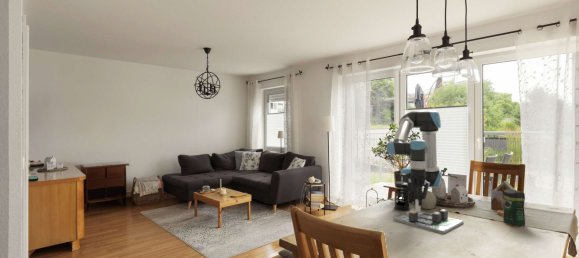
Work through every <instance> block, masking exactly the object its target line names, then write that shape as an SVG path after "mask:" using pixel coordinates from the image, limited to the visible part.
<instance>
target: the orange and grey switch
mask: <svg viewBox="0 0 579 258" xmlns="http://www.w3.org/2000/svg"><path fill="white" fill-rule="evenodd" d="M411 211H412V212H410V211H409V212H410V213H409V220H410V221H416V220H418V212H415V211H413V210H411Z"/></svg>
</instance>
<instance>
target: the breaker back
mask: <svg viewBox="0 0 579 258" xmlns="http://www.w3.org/2000/svg"><path fill="white" fill-rule="evenodd" d="M438 212H439V213H441V219H446V218H448V217H449V211H448V210H447V209H443V208H442V209H440V210H438Z"/></svg>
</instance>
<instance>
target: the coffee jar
mask: <svg viewBox="0 0 579 258" xmlns="http://www.w3.org/2000/svg"><path fill="white" fill-rule="evenodd" d="M525 195H526V193H525V192H523V191H520V190H516V189H513V188H512V189H511V188H509V189H508V188H506V189H505V190H503V201H504V202H503V218H502V220H503V222H504V223H505V224H508V225H511V226H515V227H523V226H525V225H526V217H525V201H526V196H525Z"/></svg>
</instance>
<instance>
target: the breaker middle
mask: <svg viewBox="0 0 579 258" xmlns="http://www.w3.org/2000/svg"><path fill="white" fill-rule="evenodd" d="M431 214H432V221H434V222H440V221H441V213H439V211H435V212H432V213H431Z"/></svg>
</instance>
